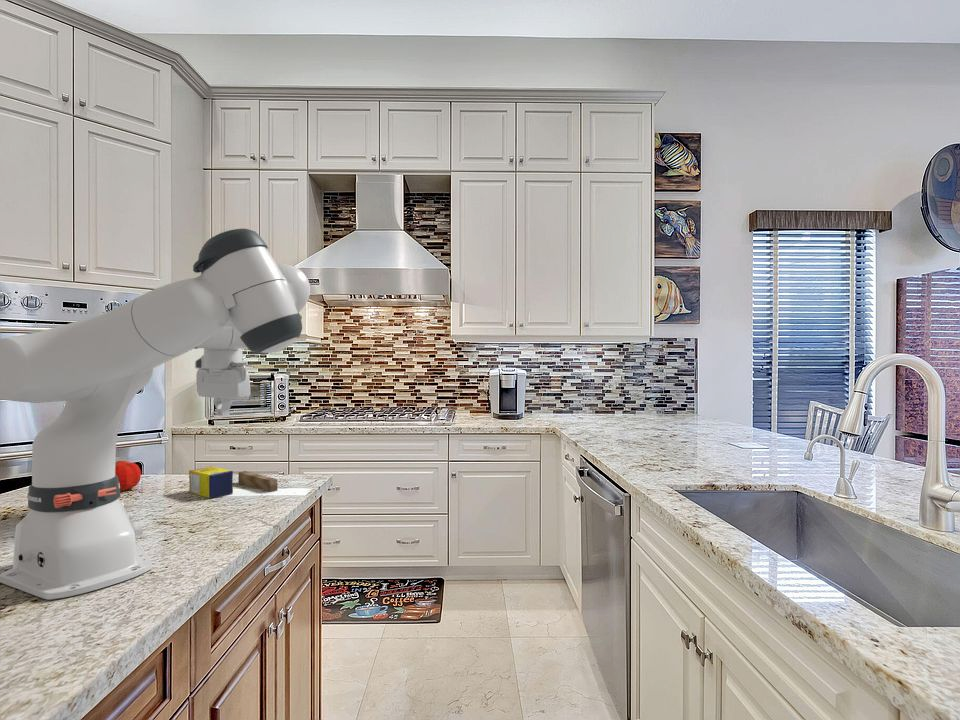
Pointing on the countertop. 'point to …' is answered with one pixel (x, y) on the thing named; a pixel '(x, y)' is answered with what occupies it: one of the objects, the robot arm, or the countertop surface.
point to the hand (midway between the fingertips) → (222, 415)
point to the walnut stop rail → (258, 481)
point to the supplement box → (210, 482)
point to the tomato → (127, 474)
